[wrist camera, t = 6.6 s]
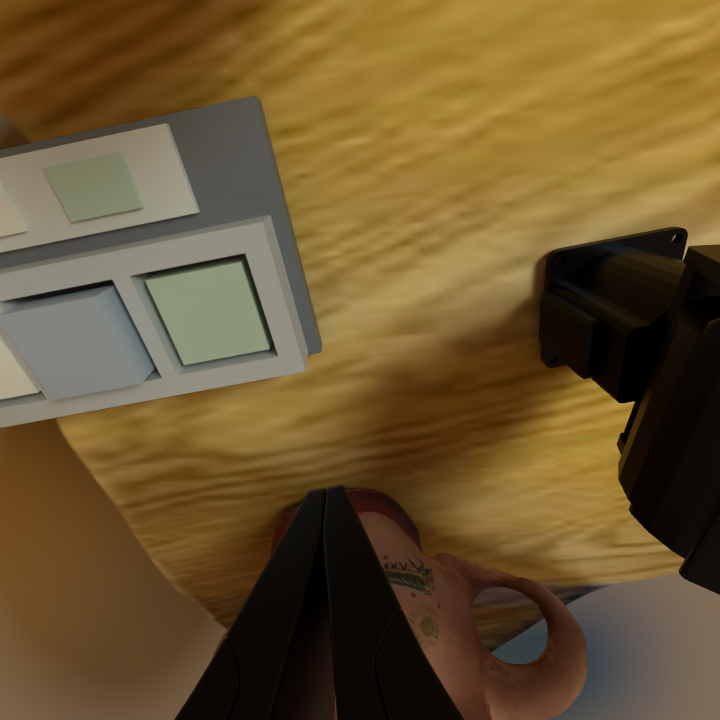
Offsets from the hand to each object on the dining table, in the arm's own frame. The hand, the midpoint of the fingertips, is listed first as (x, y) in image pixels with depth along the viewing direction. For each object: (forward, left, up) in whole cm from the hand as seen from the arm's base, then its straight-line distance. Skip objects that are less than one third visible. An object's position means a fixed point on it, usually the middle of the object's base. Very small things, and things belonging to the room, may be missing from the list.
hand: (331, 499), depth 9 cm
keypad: (+10, -4, -12) cm, 16 cm away
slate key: (+10, -2, -10) cm, 14 cm away
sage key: (+5, -2, -11) cm, 12 cm away
